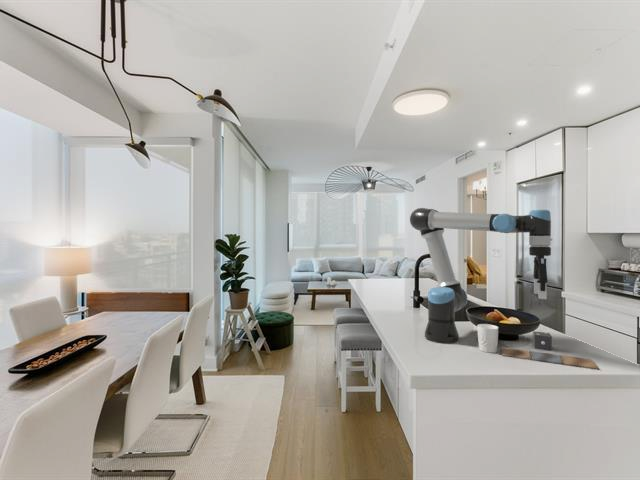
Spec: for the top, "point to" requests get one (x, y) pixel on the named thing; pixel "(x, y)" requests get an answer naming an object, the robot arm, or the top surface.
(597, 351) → the top surface
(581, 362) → the board
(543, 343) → the die
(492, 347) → the white cup
